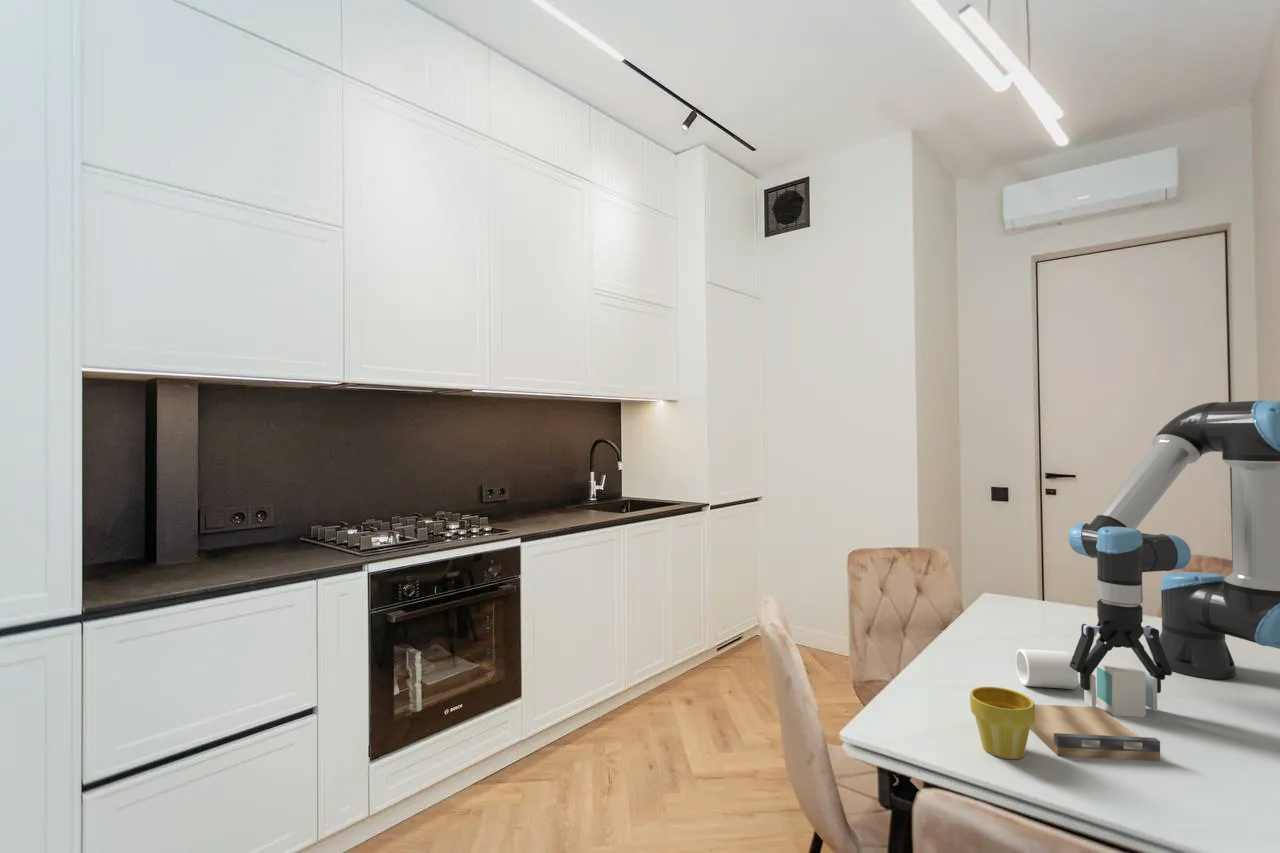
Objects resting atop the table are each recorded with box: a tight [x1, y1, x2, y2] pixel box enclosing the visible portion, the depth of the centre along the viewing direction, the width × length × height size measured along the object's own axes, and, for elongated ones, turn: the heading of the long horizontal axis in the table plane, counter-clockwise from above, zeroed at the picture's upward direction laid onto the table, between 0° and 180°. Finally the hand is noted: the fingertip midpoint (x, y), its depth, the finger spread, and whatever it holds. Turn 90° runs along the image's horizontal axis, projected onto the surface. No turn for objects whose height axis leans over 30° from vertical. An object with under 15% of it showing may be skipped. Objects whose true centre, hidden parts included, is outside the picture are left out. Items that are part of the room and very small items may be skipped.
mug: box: [1014, 648, 1079, 690], centre depth 145 cm, size 12×10×8 cm
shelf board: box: [1029, 703, 1161, 762], centre depth 120 cm, size 17×18×4 cm
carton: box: [1095, 660, 1147, 717], centre depth 131 cm, size 6×6×9 cm
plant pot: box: [969, 686, 1035, 760], centre depth 115 cm, size 10×10×10 cm
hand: (1120, 706), depth 131 cm, fingers open, 11 cm apart
